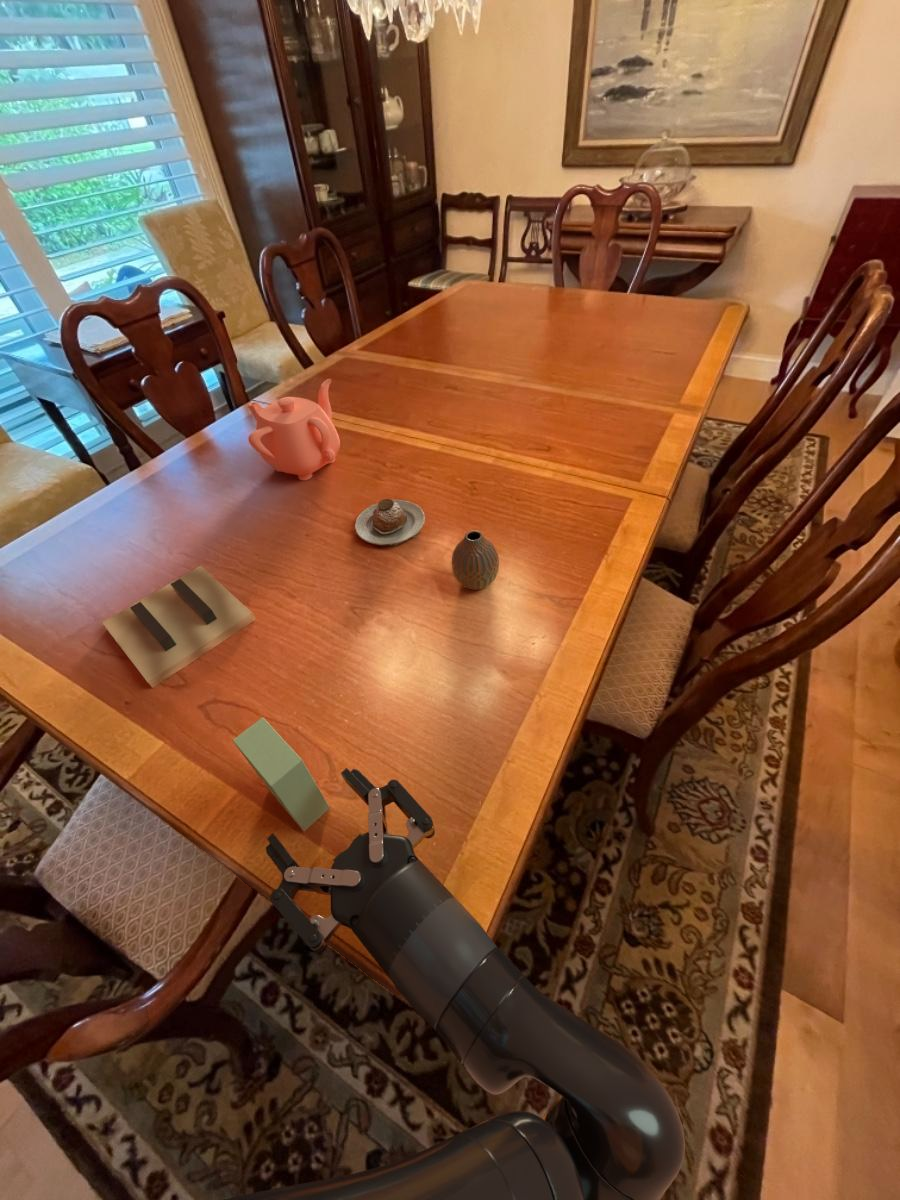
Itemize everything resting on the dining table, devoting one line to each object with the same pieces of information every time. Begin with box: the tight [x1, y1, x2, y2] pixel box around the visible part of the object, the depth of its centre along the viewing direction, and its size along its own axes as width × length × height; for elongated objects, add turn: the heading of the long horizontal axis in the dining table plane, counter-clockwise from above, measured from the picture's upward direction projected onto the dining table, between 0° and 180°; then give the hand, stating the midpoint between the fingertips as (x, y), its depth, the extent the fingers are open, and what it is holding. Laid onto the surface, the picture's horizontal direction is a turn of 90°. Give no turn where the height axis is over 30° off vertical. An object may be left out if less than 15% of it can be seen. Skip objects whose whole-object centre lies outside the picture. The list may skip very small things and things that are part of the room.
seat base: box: [101, 565, 256, 689], centre depth 78 cm, size 16×16×4 cm
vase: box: [451, 529, 500, 591], centre depth 77 cm, size 7×7×9 cm
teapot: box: [247, 378, 341, 481], centre depth 103 cm, size 16×17×14 cm
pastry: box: [354, 498, 426, 547], centre depth 90 cm, size 12×12×5 cm
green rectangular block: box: [232, 716, 331, 832], centre depth 55 cm, size 4×7×11 cm, turn 46°
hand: (309, 805), depth 51 cm, fingers open, 8 cm apart
